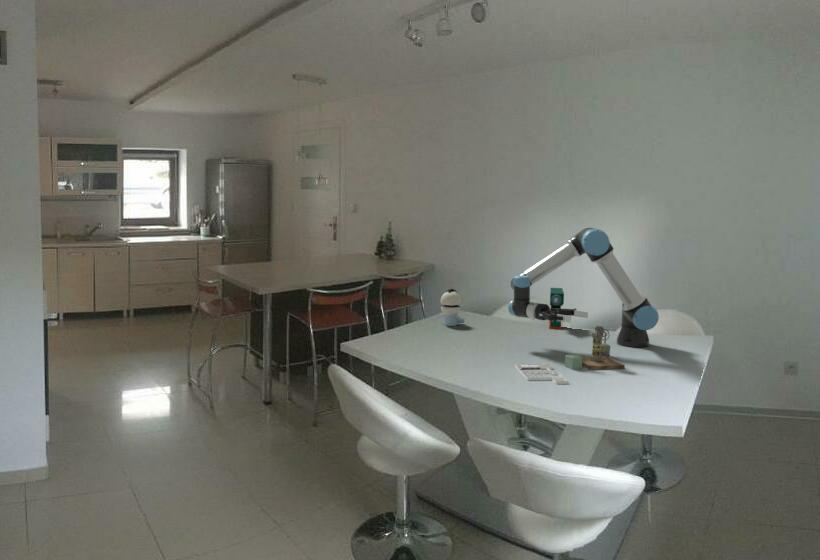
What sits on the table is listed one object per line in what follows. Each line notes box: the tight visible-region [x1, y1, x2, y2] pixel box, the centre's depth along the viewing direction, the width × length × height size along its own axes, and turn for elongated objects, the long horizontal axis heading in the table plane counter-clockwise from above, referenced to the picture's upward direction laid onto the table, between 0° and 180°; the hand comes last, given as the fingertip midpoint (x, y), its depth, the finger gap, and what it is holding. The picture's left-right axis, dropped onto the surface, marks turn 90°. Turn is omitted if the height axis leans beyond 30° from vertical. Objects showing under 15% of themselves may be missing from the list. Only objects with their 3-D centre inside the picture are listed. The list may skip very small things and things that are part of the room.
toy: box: [439, 288, 465, 327], centre depth 375 cm, size 16×13×20 cm
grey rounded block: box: [599, 343, 611, 357], centre depth 309 cm, size 6×6×5 cm
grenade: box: [590, 325, 611, 362], centre depth 293 cm, size 7×7×15 cm
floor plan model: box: [514, 363, 569, 385], centre depth 276 cm, size 15×25×2 cm, turn 5°
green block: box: [564, 353, 583, 370], centre depth 288 cm, size 5×5×5 cm
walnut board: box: [581, 355, 625, 371], centre depth 294 cm, size 16×16×2 cm
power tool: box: [548, 287, 565, 330], centre depth 369 cm, size 32×7×20 cm, turn 168°
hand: (578, 317), depth 299 cm, fingers open, 13 cm apart
